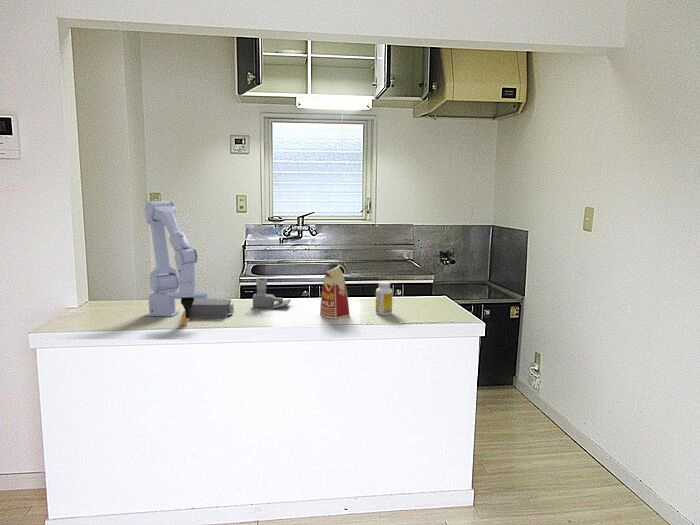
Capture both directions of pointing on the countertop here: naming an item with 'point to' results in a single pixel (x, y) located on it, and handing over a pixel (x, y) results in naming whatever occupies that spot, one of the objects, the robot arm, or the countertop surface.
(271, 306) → the camera
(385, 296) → the supplement bottle
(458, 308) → the countertop surface
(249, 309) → the countertop surface
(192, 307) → the camera case
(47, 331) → the countertop surface
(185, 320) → the case door
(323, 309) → the milk carton
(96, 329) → the countertop surface
